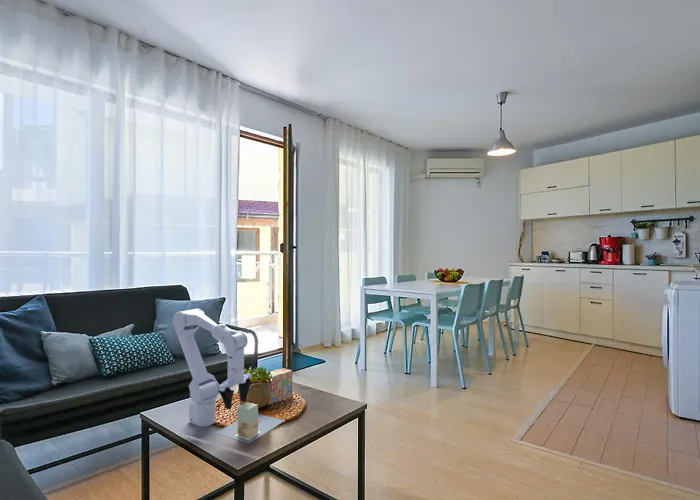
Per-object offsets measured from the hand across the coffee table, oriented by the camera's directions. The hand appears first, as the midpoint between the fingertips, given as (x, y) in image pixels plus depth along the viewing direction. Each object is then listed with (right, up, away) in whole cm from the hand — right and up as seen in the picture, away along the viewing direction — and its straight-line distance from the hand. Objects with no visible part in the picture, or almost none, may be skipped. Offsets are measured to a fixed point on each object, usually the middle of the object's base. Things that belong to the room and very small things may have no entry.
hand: (235, 404), depth 144 cm
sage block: (+5, -4, -3) cm, 7 cm away
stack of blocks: (+7, -10, +28) cm, 30 cm away
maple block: (+5, -9, -3) cm, 11 cm away
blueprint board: (+5, -10, +3) cm, 12 cm away
